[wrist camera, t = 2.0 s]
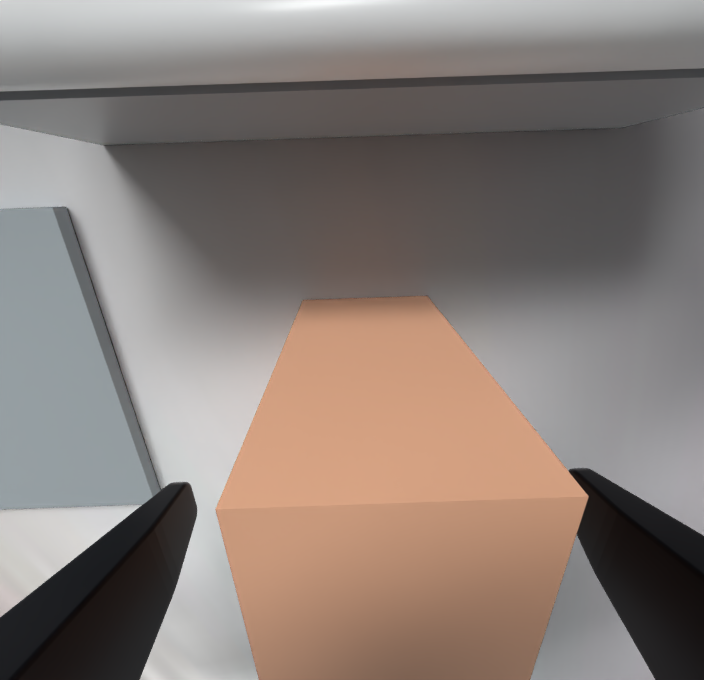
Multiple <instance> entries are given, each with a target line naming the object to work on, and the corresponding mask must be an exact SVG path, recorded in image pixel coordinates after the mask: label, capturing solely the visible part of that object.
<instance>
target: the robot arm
mask: <svg viewBox="0 0 704 680" xmlns="http://www.w3.org/2000/svg"><path fill="white" fill-rule="evenodd" d="M569 473H570V474H571V475H572V476H573V478H574V479H575V480H576V481H577V483H578V484H579V485H580V486H581V488H582V489H583V490H584V491H585V493H586V494H587V495H588V496H589V497H588V500H587V503H586V506H585V509H584V512H583V516H582V519H581V522H580V525H579V528H578V531H577V536H578V538H579V540H580V543H581V545H582V547H583V549H584V551H585V553H586V556H587V558H588V560H589V562H590V564H591V566H592V568H593V570H594V572H595V574H596V576H597V578H598V580H599V581H600V583H601V585H602V587H603V589H604V590H605V592H606V594H607V596H608V597H609V599H610V601H611V603H612V604H613V606H614V608H615V610H616V611H617V613H618V615H619V617H620V618H621V620H622V622H623V624H624V625H625V627H626V629H627V631H628V632H629V634H630V636H631V638H632V639H633V641H634V643H635V645H636V646H637V648H638V650H639V652H640V653H641V655H642V657H643V659H644V660H645V662H646V664H647V666H648V667H649V669H650V671H651V673H652V674H653V676H654V678H655V680H704V536H703V535H702V534H700V533H698V532H696V531H695V530H693V529H691V528H690V527H688V526H686V525H685V524H683V523H681V522H679V521H678V520H676V519H674V518H673V517H671V516H669V515H667V514H666V513H664V512H662V511H661V510H659V509H657V508H656V507H654V506H652V505H650V504H649V503H647V502H645V501H644V500H642V499H640V498H639V497H637V496H635V495H633V494H632V493H630V492H628V491H627V490H625V489H623V488H621V487H620V486H618V485H616V484H615V483H613V482H611V481H610V480H608V479H606V478H604V477H603V476H601V475H599V474H598V473H596V472H594V471H592V470H591V469H588V468H575V469H570V470H569ZM196 517H197V505H196V501H195V498H194V494H193V491H192V487H191V485H190V484H189V483H188V482H174V483H170V484H169V485H167V486H166V487H165V488H163V489H162V490H161V491H159V492H158V493H157V494H156V495H154V496H153V497H152V498H151V499H149V500H148V501H147V502H146V503H144V504H143V505H142V506H141V507H139V508H138V509H137V510H135V511H134V512H133V513H132V514H130V515H129V516H128V517H127V518H125V519H124V520H123V521H122V522H120V523H119V524H118V525H117V526H115V527H114V528H113V529H111V530H110V531H109V532H108V533H106V534H105V535H104V536H103V537H101V538H100V539H99V540H98V541H96V542H95V543H94V544H93V545H91V546H90V547H89V548H87V549H86V550H85V551H84V552H82V553H81V554H80V555H79V556H77V557H76V558H75V559H74V560H72V561H71V562H70V563H68V564H67V565H66V566H65V567H63V568H62V569H61V570H60V571H58V572H57V573H56V574H55V575H53V576H52V577H51V578H50V579H48V580H47V581H46V582H44V583H43V584H42V585H41V586H39V587H38V588H37V589H36V590H34V591H33V592H32V593H31V594H29V595H28V596H27V597H26V598H24V599H23V600H22V601H20V602H19V603H18V604H17V605H15V606H14V607H13V608H12V609H10V610H9V611H8V612H7V613H5V614H4V615H3V616H2V617H0V680H140V677H141V675H142V672H143V670H144V667H145V664H146V662H147V659H148V657H149V654H150V652H151V649H152V647H153V644H154V642H155V639H156V637H157V634H158V632H159V629H160V627H161V624H162V622H163V619H164V616H165V614H166V611H167V609H168V606H169V604H170V601H171V599H172V596H173V593H174V591H175V588H176V585H177V582H178V579H179V575H180V572H181V569H182V565H183V562H184V558H185V555H186V551H187V548H188V545H189V541H190V538H191V534H192V531H193V527H194V524H195V520H196Z"/></svg>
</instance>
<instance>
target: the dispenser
mask: <svg viewBox="0 0 704 680" xmlns="http://www.w3.org/2000/svg"><path fill="white" fill-rule="evenodd" d="M701 108H704V0H0V124H2V125H7V126H12V127H17V128H22V129H27V130H31V131H36V132H41V133H46V134H51V135H56V136H61V137H66V138H70V139H75V140H80V141H85V142H90V143H95V144H100V145H118V144H148V143H178V142H208V141H238V140H268V139H298V138H328V137H358V136H388V135H418V134H448V133H478V132H508V131H538V130H568V129H598V128H623V127H627V126H631V125H635V124H639V123H643V122H647V121H652V120H656V119H660V118H664V117H668V116H672V115H676V114H680V113H684V112H688V111H692V110H696V109H701Z"/></svg>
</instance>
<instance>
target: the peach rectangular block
mask: <svg viewBox="0 0 704 680" xmlns="http://www.w3.org/2000/svg"><path fill="white" fill-rule="evenodd" d="M588 497H589V496H588V495H587V494H586V493H585V491H584V490H583V489H582V488H581V486H580V485H579V484H578V483H577V481H576V480H575V479H574V478H573V476H572V475H571V474H570V473H569V471H568V470H567V469H566V468H565V466H564V465H563V464H562V463H561V461H560V460H559V459H558V458H557V457H556V455H555V454H554V453H553V452H552V450H551V449H550V448H549V447H548V445H547V444H546V443H545V442H544V440H543V439H542V438H541V437H540V435H539V434H538V433H537V432H536V430H535V429H534V428H533V427H532V425H531V424H530V423H529V422H528V420H527V419H526V418H525V417H524V415H523V414H522V413H521V412H520V410H519V409H518V408H517V407H516V406H515V404H514V403H513V402H512V401H511V399H510V398H509V397H508V396H507V394H506V393H505V392H504V391H503V389H502V388H501V387H500V386H499V384H498V383H497V382H496V381H495V379H494V378H493V377H492V376H491V374H490V373H489V372H488V371H487V369H486V368H485V367H484V366H483V364H482V363H481V362H480V361H479V359H478V358H477V357H476V356H475V354H474V353H473V352H472V351H471V350H470V348H469V347H468V346H467V345H466V343H465V342H464V341H463V340H462V338H461V337H460V336H459V335H458V333H457V332H456V331H455V330H454V328H453V327H452V326H451V325H450V323H449V322H448V321H447V320H446V318H445V317H444V316H443V315H442V313H441V312H440V311H439V310H438V308H437V307H436V306H435V305H434V303H433V302H432V301H431V300H430V299H429V297H428V296H404V297H374V298H345V299H316V300H303V301H302V303H301V306H300V308H299V311H298V313H297V315H296V318H295V320H294V323H293V325H292V327H291V330H290V332H289V334H288V337H287V339H286V342H285V344H284V346H283V349H282V351H281V354H280V356H279V358H278V361H277V363H276V366H275V368H274V370H273V373H272V375H271V378H270V380H269V382H268V385H267V387H266V390H265V392H264V394H263V397H262V399H261V402H260V404H259V406H258V409H257V411H256V414H255V416H254V418H253V421H252V423H251V426H250V428H249V430H248V433H247V435H246V438H245V440H244V442H243V445H242V447H241V450H240V452H239V454H238V457H237V459H236V461H235V464H234V466H233V469H232V471H231V473H230V476H229V478H228V481H227V483H226V485H225V488H224V490H223V493H222V495H221V497H220V500H219V502H218V505H217V507H216V509H215V510H216V513H217V517H218V521H219V525H220V529H221V533H222V537H223V541H224V545H225V549H226V553H227V557H228V560H229V564H230V568H231V572H232V576H233V580H234V584H235V588H236V592H237V596H238V600H239V604H240V607H241V611H242V615H243V619H244V623H245V627H246V631H247V635H248V639H249V643H250V647H251V651H252V654H253V658H254V662H255V666H256V670H257V674H258V678H259V680H530V678H531V675H532V672H533V669H534V665H535V662H536V659H537V656H538V653H539V650H540V647H541V644H542V640H543V637H544V634H545V631H546V628H547V625H548V622H549V619H550V615H551V612H552V609H553V606H554V603H555V600H556V597H557V594H558V591H559V587H560V584H561V581H562V578H563V575H564V572H565V569H566V566H567V562H568V559H569V556H570V553H571V550H572V547H573V544H574V541H575V537H576V534H577V531H578V528H579V525H580V522H581V519H582V516H583V512H584V509H585V506H586V503H587V500H588Z"/></svg>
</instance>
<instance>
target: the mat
mask: <svg viewBox="0 0 704 680" xmlns="http://www.w3.org/2000/svg"><path fill="white" fill-rule="evenodd" d="M159 491H160V488H159V485H158V482H157V479H156V476H155V473H154V470H153V467H152V464H151V461H150V458H149V455H148V452H147V449H146V446H145V443H144V440H143V437H142V434H141V431H140V428H139V425H138V422H137V419H136V416H135V413H134V410H133V407H132V404H131V401H130V398H129V395H128V392H127V389H126V386H125V383H124V380H123V377H122V373H121V370H120V367H119V364H118V361H117V358H116V355H115V352H114V349H113V346H112V343H111V340H110V337H109V334H108V331H107V328H106V325H105V322H104V319H103V316H102V313H101V310H100V307H99V304H98V301H97V298H96V295H95V292H94V289H93V286H92V283H91V280H90V277H89V274H88V271H87V268H86V265H85V262H84V259H83V256H82V253H81V250H80V247H79V244H78V241H77V238H76V235H75V232H74V229H73V226H72V223H71V220H70V217H69V214H68V211H67V208H66V207H44V208H14V209H0V509H26V508H54V507H83V506H111V505H140V504H144V503H146V502H147V501H148V500H149V499H151V498H152V497H153V496H154V495H156V494H157V493H158V492H159Z"/></svg>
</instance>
